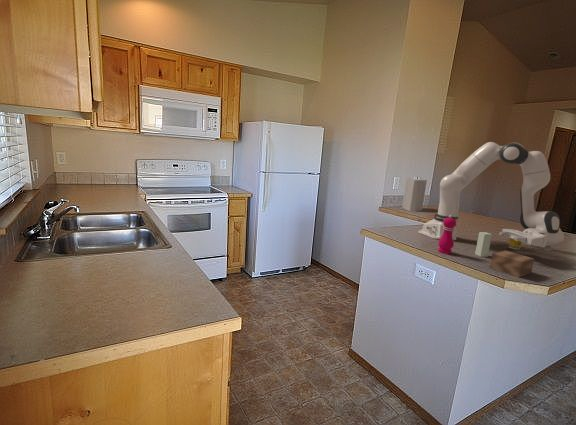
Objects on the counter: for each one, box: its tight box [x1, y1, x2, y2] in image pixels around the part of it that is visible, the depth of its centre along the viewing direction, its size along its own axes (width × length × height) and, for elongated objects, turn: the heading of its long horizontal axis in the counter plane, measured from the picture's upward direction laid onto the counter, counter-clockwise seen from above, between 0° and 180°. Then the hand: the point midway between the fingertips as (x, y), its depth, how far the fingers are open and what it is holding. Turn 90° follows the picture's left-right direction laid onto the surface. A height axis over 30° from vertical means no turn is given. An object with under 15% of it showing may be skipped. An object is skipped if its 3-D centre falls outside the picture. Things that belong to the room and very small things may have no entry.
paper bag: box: [402, 177, 428, 212], centre depth 291 cm, size 19×15×28 cm
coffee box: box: [529, 245, 552, 253], centre depth 185 cm, size 9×6×16 cm
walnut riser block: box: [489, 250, 535, 278], centre depth 144 cm, size 12×12×7 cm
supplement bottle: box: [508, 238, 522, 250], centre depth 183 cm, size 5×5×10 cm
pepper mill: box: [437, 215, 457, 255], centre depth 164 cm, size 7×7×20 cm
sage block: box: [474, 231, 493, 258], centre depth 164 cm, size 4×4×12 cm
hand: (507, 236), depth 164 cm, fingers open, 8 cm apart
